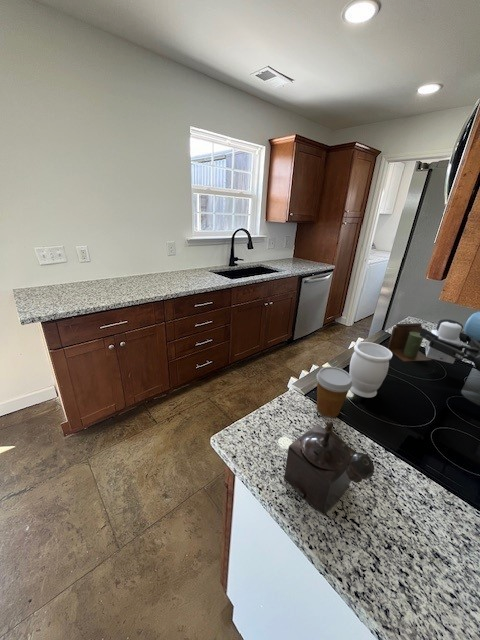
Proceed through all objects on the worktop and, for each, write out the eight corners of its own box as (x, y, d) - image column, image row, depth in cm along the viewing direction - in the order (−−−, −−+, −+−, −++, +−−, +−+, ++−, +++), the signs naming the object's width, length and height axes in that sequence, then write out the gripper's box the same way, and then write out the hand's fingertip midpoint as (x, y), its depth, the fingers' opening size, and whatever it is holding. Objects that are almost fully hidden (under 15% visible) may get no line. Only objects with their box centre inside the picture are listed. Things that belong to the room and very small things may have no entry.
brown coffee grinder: (280, 478, 57) (289, 414, 50) (311, 451, 64) (323, 391, 56) (345, 544, 46) (369, 475, 39) (375, 503, 53) (400, 438, 46)
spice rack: (412, 349, 112) (421, 322, 107) (431, 362, 102) (442, 334, 97) (386, 350, 110) (394, 323, 105) (402, 363, 101) (412, 335, 96)
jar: (384, 389, 86) (396, 349, 80) (374, 405, 79) (387, 363, 73) (351, 376, 93) (361, 338, 87) (339, 389, 85) (348, 349, 79)
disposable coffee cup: (307, 414, 75) (313, 379, 70) (314, 394, 83) (320, 362, 78) (343, 426, 71) (352, 390, 66) (346, 404, 79) (355, 371, 74)
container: (424, 347, 97) (436, 315, 92) (450, 354, 93) (464, 320, 88) (425, 357, 91) (438, 323, 86) (453, 364, 87) (468, 329, 82)
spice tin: (413, 352, 107) (420, 332, 103) (418, 358, 103) (426, 337, 99) (401, 350, 108) (407, 330, 104) (405, 356, 103) (412, 336, 100)
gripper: (457, 380, 73) (403, 341, 93) (529, 376, 76) (461, 339, 96) (467, 357, 70) (409, 322, 90) (542, 353, 73) (469, 320, 93)
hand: (436, 331), depth 93 cm, fingers closed on container, 10 cm apart
